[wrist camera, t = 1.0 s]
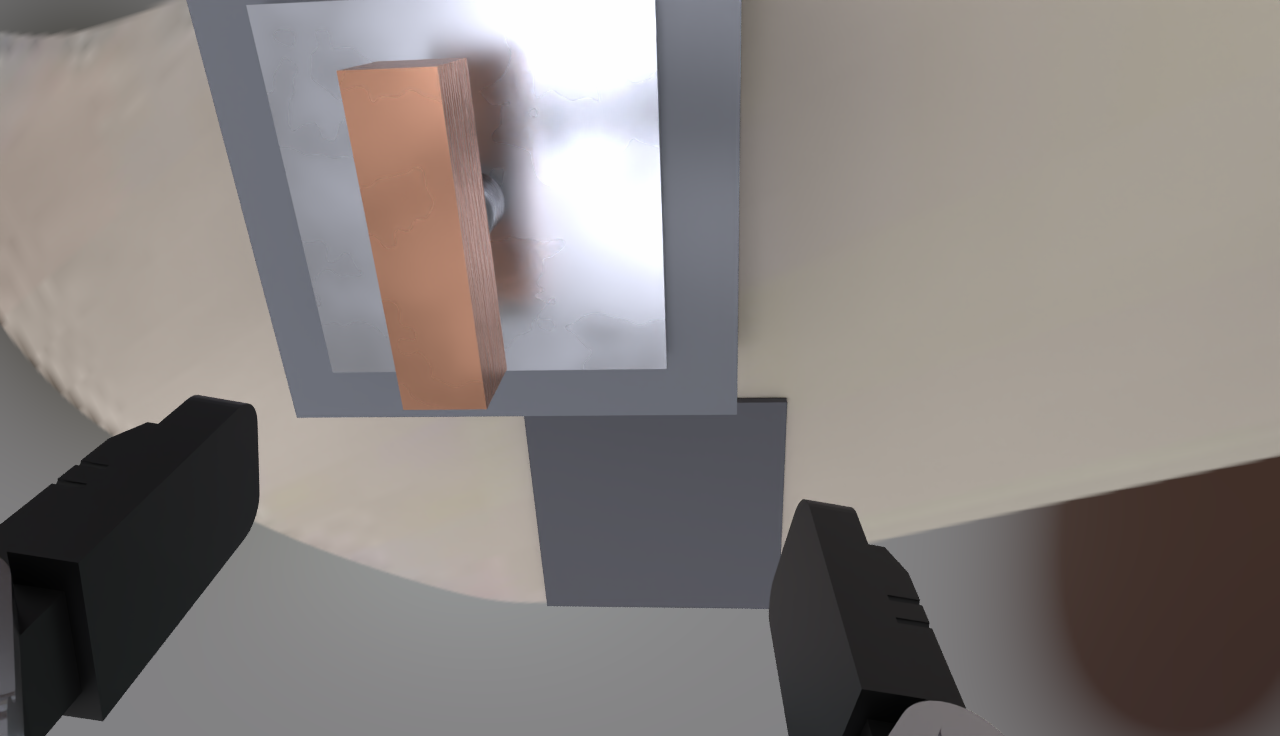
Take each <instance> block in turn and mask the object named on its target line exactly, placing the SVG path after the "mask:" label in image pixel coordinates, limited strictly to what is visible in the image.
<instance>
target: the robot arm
mask: <svg viewBox="0 0 1280 736" xmlns="http://www.w3.org/2000/svg"><path fill="white" fill-rule="evenodd" d="M258 504H259V458H258V425H257V414H256V411H255V409H254V407H253V406H252V405H251V404H248V403H242V402H236V401H230V400H224V399H218V398H212V397H206V396H201V395H194V396H192V397H190V398H189V399H187V400H186V401H185V402H184V403H182V404H181V405H180V406H179V407H178V408H177V409H175V410H174V411H173V412H172V413H171V414H169V415H168V416H167V417H166V418H165V419H163V420H162V421H161V422H160V423H159V424H155V423H149V422H147V423H145V424H142V425H140V426H137V427H135V428H133V429H130V430H128V431H125V432H123V433H121V434H118V435H116V436H114V437H111V438H109V439H107V441H105V442H104V443H102V444H101V445H100V446H99V447H97V448H96V449H95V450H94V451H92V452H91V453H90V454H89V455H87V456H86V457H85V458H83V459H82V460H81V464H80V465H79V466H78V465H75V466H73V467H72V468H71V469H70V470H68V471H67V472H66V473H65V474H63V475H62V476H61V477H60V478H58V481H57V484H51V485H49V486H48V487H47V488H46V489H44V490H43V491H42V492H41V493H39V494H38V495H37V496H36V497H34V498H33V499H32V500H31V501H29V502H28V503H27V504H25V505H24V506H23V507H22V508H20V509H19V510H18V511H17V512H15V513H14V514H13V515H12V516H10V517H9V518H8V519H7V520H5V521H4V522H3V523H1V524H0V736H45V735H46V734H47V733H48V732H49V731H50V729H51V728H52V727H53V726H54V725H55V724H56V722H57V721H58V720H59V719H60V718H61V716H62V715H65V716H72V717H78V718H85V719H92V720H98V721H103V720H104V719H105V718H106V717H107V715H108V714H109V713H110V711H111V710H112V709H113V707H114V706H115V705H116V704H117V702H118V701H119V700H120V698H121V697H122V696H123V695H124V693H125V692H126V691H127V689H128V688H129V687H130V685H131V684H132V683H133V682H134V680H135V679H136V678H137V677H138V675H139V674H140V673H141V671H142V670H143V669H144V668H145V666H146V665H147V663H148V662H149V661H150V660H151V658H152V657H153V656H154V655H155V653H156V652H157V651H158V650H159V648H160V647H161V645H162V644H163V643H164V642H165V640H166V639H167V638H168V637H169V635H170V634H171V633H172V632H173V630H174V629H175V627H176V626H177V625H178V624H179V622H180V621H181V620H182V619H183V617H184V616H185V615H186V613H187V612H188V611H189V610H190V608H191V607H192V606H193V604H194V603H195V602H196V600H197V599H198V598H199V597H200V595H201V594H202V593H203V592H204V590H205V589H206V588H207V586H208V585H209V584H210V582H211V581H212V580H213V579H214V577H215V576H216V575H217V574H218V572H219V571H220V570H221V568H222V567H223V566H224V564H225V563H226V562H227V561H228V559H229V558H230V557H231V555H232V554H233V553H234V551H235V550H236V549H237V548H238V546H239V545H240V544H241V543H242V541H243V540H244V539H245V537H246V536H247V534H248V532H249V531H250V528H251V527H252V524H253V522H254V519H255V516H256V513H257V509H258ZM919 601H920V599H919V597H918V595H917V592H916V590H915V588H914V585H913V583H912V581H911V578H910V576H909V574H908V572H907V571H906V570H905V569H904V568H903V567H902V566H901V564H900V563H899V562H898V561H897V560H896V559H895V558H894V557H893V556H892V555H891V554H890V553H889V551H888V550H887V549H886V548H885V547H881V546H875V545H869V544H868V542H867V540H866V537H865V534H864V532H863V529H862V526H861V524H860V521H859V518H858V516H857V513H856V511H855V510H854V509H853V508H852V507H846V506H841V505H835V504H829V503H823V502H817V501H811V500H805V499H803V500H802V501H801V502H800V503H799V504H798V506H797V508H796V511H795V514H794V517H793V520H792V523H791V526H790V529H789V532H788V535H787V538H786V541H785V545H784V548H783V551H782V554H781V557H780V560H779V563H778V566H777V569H776V572H775V575H774V579H773V582H772V587H771V592H770V601H769V622H770V628H771V635H772V640H773V647H774V652H775V658H776V664H777V670H778V676H779V682H780V687H781V694H782V699H783V705H784V711H785V717H786V723H787V729H788V735H789V736H1004V735H1003V734H1002V733H1001V732H1000V731H999V730H998V729H996V728H995V727H994V726H993V725H992V724H991V723H989V722H988V721H986V720H985V719H983V718H982V717H980V716H979V715H977V714H975V713H973V712H972V711H969V710H967V709H966V707H965V705H964V703H963V700H962V698H961V696H960V693H959V691H958V689H957V686H956V684H955V682H954V679H953V677H952V675H951V672H950V670H949V667H948V665H947V663H946V660H945V658H944V656H943V653H942V651H941V649H940V646H939V644H938V642H937V639H936V637H935V634H934V632H933V630H932V629H931V628H929V621H928V618H927V616H926V614H925V611H924V609H923V606H921V605H919Z"/></svg>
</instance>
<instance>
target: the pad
mask: <svg viewBox="0 0 1280 736" xmlns="http://www.w3.org/2000/svg"><path fill="white" fill-rule="evenodd" d="M786 416H787V400H786V398H747V399H737V415H611V416H524V419H525V427H526V436H527V444H528V452H529V460H530V468H531V476H532V485H533V493H534V501H535V509H536V517H537V525H538V533H539V542H540V550H541V558H542V566H543V574H544V582H545V591H546V599H547V606H590V607H591V606H592V607H596V606H597V607H671V608H672V607H675V608H751V609H769V601H770V592H771V587H772V582H773V579H774V575H775V572H776V569H777V566H778V563H779V560H780V557H781V536H782V512H783V488H784V464H785V440H786Z"/></svg>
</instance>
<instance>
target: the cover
mask: <svg viewBox="0 0 1280 736" xmlns="http://www.w3.org/2000/svg"><path fill="white" fill-rule="evenodd" d="M246 7H247V11H248V15H249V20H250V24H251V28H252V32H253V37H254V41H255V45H256V49H257V54H258V58H259V62H260V66H261V70H262V75H263V79H264V83H265V87H266V92H267V96H268V100H269V104H270V109H271V113H272V117H273V121H274V126H275V130H276V134H277V138H278V143H279V147H280V151H281V155H282V160H283V164H284V168H285V172H286V177H287V181H288V185H289V189H290V193H291V198H292V202H293V206H294V210H295V215H296V219H297V223H298V227H299V232H300V236H301V240H302V244H303V249H304V253H305V257H306V261H307V266H308V270H309V274H310V278H311V283H312V287H313V291H314V295H315V300H316V304H317V308H318V312H319V316H320V321H321V325H322V329H323V333H324V338H325V342H326V346H327V350H328V355H329V359H330V363H331V367H332V372H333V373H344V372H396V375H397V380H398V386H399V391H400V396H401V401H402V406H403V410H469V409H487V408H488V406H489V404H490V402H491V400H492V398H493V396H494V394H495V392H496V390H497V388H498V386H499V384H500V382H501V380H502V378H503V376H504V374H505V372H506V371H523V370H612V369H667V360H668V341H667V309H666V278H665V246H664V214H663V182H662V150H661V119H660V87H659V55H658V23H657V0H339V1H319V2H299V3H278V4H258V5H246Z"/></svg>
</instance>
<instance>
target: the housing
mask: <svg viewBox="0 0 1280 736" xmlns="http://www.w3.org/2000/svg"><path fill="white" fill-rule="evenodd" d="M319 1H339V0H187V4H188V7H189V11H190V15H191V19H192V23H193V26H194V30H195V34H196V38H197V41H198V45H199V49H200V53H201V57H202V60H203V64H204V68H205V72H206V75H207V79H208V83H209V87H210V91H211V94H212V98H213V102H214V106H215V109H216V113H217V117H218V121H219V125H220V128H221V132H222V136H223V140H224V143H225V147H226V151H227V155H228V159H229V162H230V166H231V170H232V174H233V177H234V181H235V185H236V189H237V193H238V196H239V200H240V204H241V208H242V211H243V215H244V219H245V223H246V227H247V230H248V234H249V238H250V242H251V245H252V249H253V253H254V257H255V261H256V264H257V268H258V272H259V276H260V279H261V283H262V287H263V291H264V295H265V298H266V302H267V306H268V310H269V313H270V317H271V321H272V325H273V329H274V332H275V336H276V340H277V344H278V347H279V351H280V355H281V359H282V363H283V366H284V370H285V374H286V378H287V381H288V385H289V389H290V393H291V397H292V400H293V404H294V408H295V412H296V415H297V418H308V417H459V416H611V415H737V366H738V271H739V176H740V81H741V0H657V23H658V55H659V87H660V119H661V150H662V182H663V214H664V246H665V278H666V309H667V341H668V360H667V369H612V370H523V371H506V372H505V374H504V376H503V378H502V380H501V382H500V384H499V386H498V388H497V390H496V392H495V394H494V396H493V398H492V400H491V402H490V404H489V406H488V408H487V409H469V410H403V406H402V401H401V396H400V391H399V386H398V380H397V375H396V372H344V373H333V372H332V367H331V363H330V359H329V355H328V350H327V346H326V342H325V338H324V333H323V329H322V325H321V321H320V316H319V312H318V308H317V304H316V300H315V295H314V291H313V287H312V283H311V278H310V274H309V270H308V266H307V261H306V257H305V253H304V249H303V244H302V240H301V236H300V232H299V227H298V223H297V219H296V215H295V210H294V206H293V202H292V198H291V193H290V189H289V185H288V181H287V177H286V172H285V168H284V164H283V160H282V155H281V151H280V147H279V143H278V138H277V134H276V130H275V126H274V121H273V117H272V113H271V109H270V104H269V100H268V96H267V92H266V87H265V83H264V79H263V75H262V70H261V66H260V62H259V58H258V54H257V49H256V45H255V41H254V37H253V32H252V28H251V24H250V20H249V15H248V11H247V7H246V5H258V4H278V3H299V2H319Z"/></svg>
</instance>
